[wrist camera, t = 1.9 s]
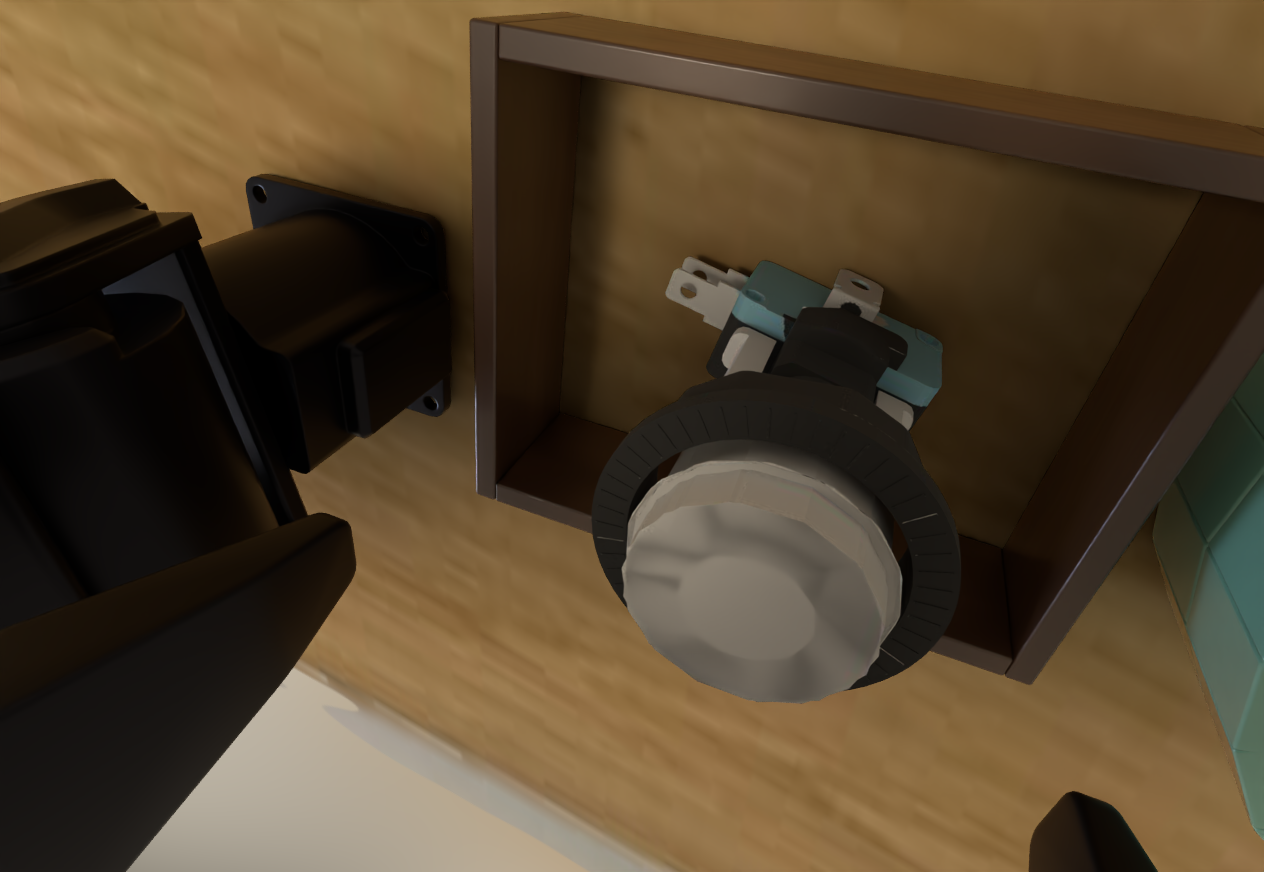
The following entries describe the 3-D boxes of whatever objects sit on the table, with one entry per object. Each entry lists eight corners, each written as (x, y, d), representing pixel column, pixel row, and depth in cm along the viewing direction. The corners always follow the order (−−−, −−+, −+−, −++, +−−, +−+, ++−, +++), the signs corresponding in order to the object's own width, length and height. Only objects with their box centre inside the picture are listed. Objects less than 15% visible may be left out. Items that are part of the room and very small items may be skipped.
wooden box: (541, 422, 22) (475, 494, 19) (562, 11, 16) (467, 17, 13) (1016, 571, 19) (1031, 687, 16) (1278, 130, 13) (1387, 178, 10)
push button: (654, 345, 20) (457, 590, 12) (730, 155, 16) (528, 315, 8) (878, 455, 19) (831, 796, 11) (1003, 279, 16) (1065, 581, 8)
